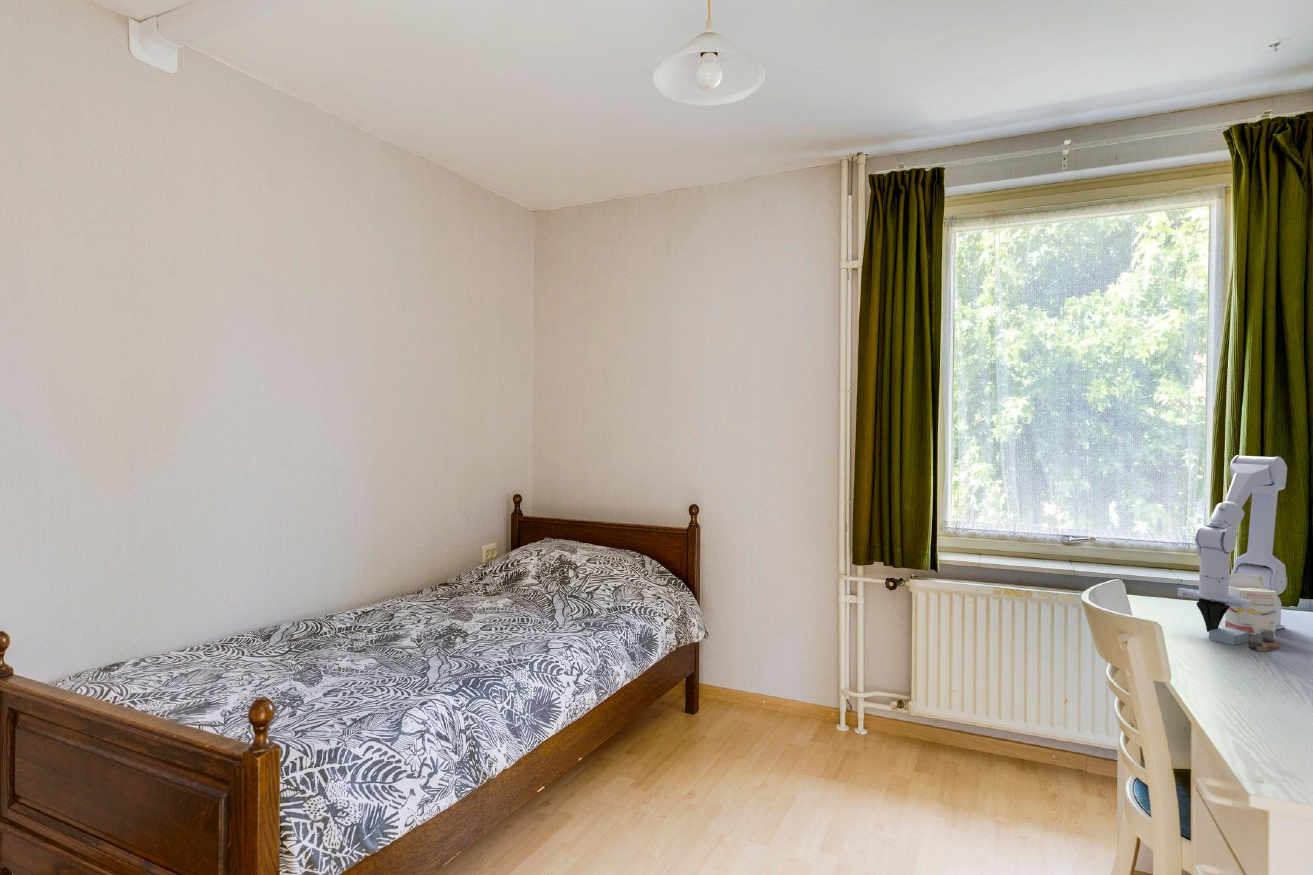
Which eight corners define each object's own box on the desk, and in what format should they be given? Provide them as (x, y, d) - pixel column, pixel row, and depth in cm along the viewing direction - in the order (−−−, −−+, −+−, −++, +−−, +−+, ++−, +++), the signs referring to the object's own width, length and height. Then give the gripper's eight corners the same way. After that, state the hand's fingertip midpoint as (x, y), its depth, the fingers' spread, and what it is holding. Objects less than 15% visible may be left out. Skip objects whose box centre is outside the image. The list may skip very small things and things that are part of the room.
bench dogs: (1262, 643, 168) (1263, 628, 168) (1279, 647, 165) (1280, 632, 165) (1246, 648, 164) (1247, 633, 164) (1263, 652, 161) (1264, 636, 161)
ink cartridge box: (1238, 637, 172) (1240, 577, 172) (1224, 632, 177) (1226, 573, 177) (1276, 639, 171) (1278, 579, 171) (1261, 633, 176) (1263, 574, 176)
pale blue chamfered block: (1223, 636, 174) (1224, 626, 174) (1248, 642, 170) (1249, 631, 170) (1208, 641, 170) (1209, 630, 170) (1233, 646, 166) (1234, 636, 166)
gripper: (1172, 571, 177) (1170, 625, 178) (1242, 584, 165) (1240, 642, 165) (1186, 569, 181) (1184, 622, 181) (1256, 581, 168) (1254, 638, 168)
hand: (1212, 631), depth 173 cm, fingers closed
